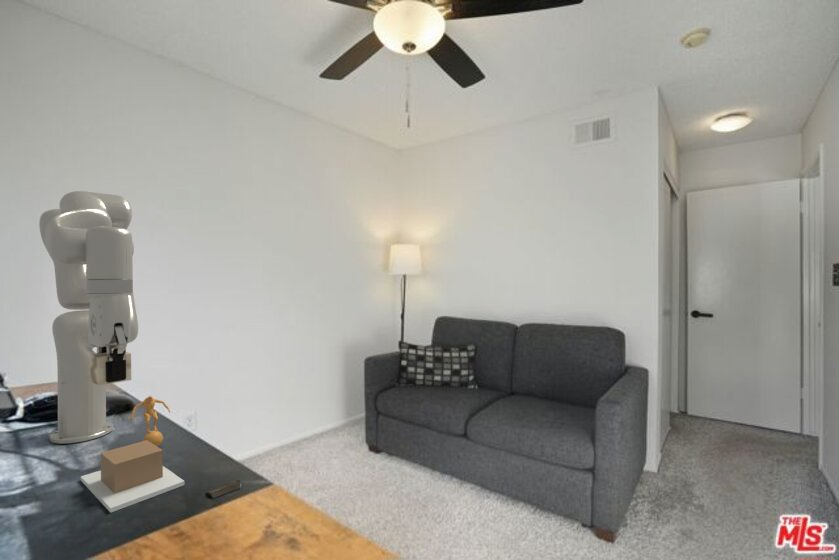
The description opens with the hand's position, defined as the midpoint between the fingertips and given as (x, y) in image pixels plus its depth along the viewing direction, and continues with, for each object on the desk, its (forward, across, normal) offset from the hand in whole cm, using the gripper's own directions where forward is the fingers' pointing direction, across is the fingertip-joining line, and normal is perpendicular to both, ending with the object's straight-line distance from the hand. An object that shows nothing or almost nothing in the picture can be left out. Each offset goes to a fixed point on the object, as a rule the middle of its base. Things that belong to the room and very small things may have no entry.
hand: (111, 378), depth 83 cm
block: (+22, +22, +12) cm, 33 cm away
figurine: (+20, -11, +11) cm, 25 cm away
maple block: (+1, 0, 0) cm, 1 cm away
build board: (+20, +5, +2) cm, 21 cm away
